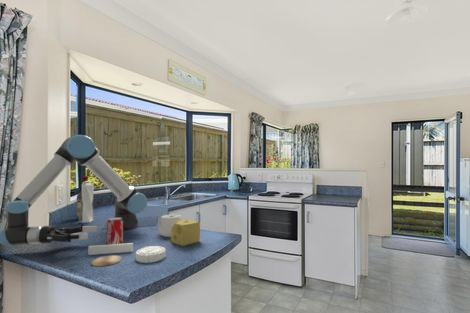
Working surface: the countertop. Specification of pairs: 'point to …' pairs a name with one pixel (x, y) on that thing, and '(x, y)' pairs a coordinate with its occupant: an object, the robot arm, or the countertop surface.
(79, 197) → the liquor
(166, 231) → the toilet tissue
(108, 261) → the coaster
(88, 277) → the countertop surface
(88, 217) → the white bottle
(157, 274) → the countertop surface
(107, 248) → the divider
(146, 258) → the mooncake
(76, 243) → the countertop surface
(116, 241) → the soda can
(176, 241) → the cheese
